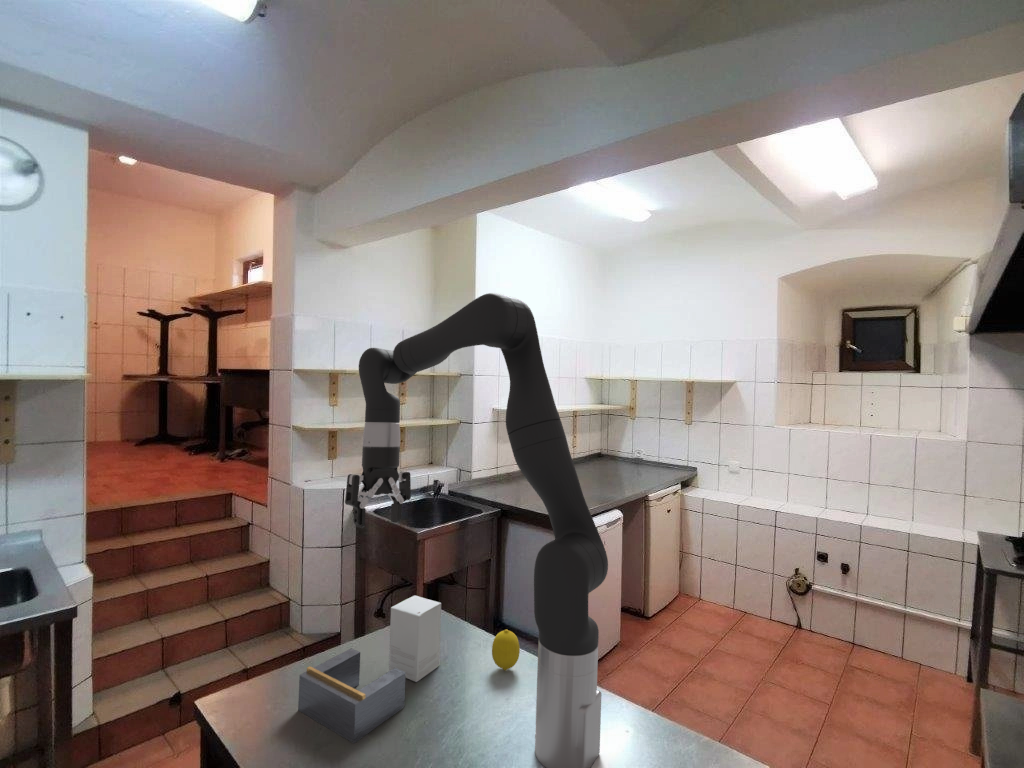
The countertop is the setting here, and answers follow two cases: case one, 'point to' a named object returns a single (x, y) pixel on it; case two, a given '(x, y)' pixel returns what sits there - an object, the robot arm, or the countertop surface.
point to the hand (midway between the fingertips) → (378, 524)
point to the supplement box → (415, 637)
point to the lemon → (505, 649)
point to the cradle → (349, 696)
